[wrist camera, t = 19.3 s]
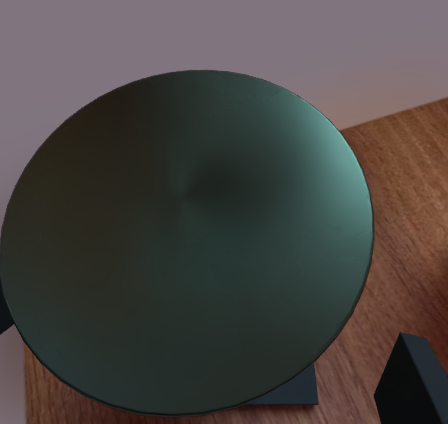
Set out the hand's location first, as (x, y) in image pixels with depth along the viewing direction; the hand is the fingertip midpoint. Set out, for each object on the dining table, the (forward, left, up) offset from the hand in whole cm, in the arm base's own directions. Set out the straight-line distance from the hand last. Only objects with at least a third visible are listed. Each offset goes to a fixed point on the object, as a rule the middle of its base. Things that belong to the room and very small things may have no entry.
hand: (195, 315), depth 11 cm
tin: (+1, +1, -8) cm, 9 cm away
